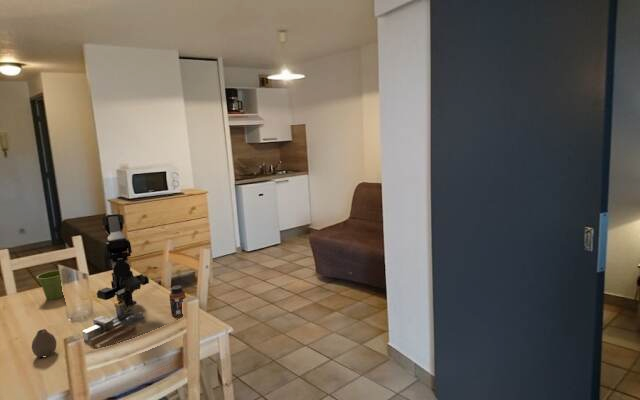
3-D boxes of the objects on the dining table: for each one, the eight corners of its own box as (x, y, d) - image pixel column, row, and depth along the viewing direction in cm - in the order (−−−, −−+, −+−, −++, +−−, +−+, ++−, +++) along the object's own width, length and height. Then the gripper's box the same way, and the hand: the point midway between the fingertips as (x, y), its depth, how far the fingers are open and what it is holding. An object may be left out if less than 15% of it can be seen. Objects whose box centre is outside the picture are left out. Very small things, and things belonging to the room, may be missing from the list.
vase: (41, 350, 142) (37, 326, 141) (62, 348, 143) (57, 325, 141) (29, 361, 135) (24, 336, 134) (51, 359, 136) (46, 334, 134)
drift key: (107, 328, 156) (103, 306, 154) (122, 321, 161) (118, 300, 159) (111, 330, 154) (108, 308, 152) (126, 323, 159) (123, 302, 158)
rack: (90, 345, 143) (89, 339, 143) (124, 329, 154) (123, 323, 154) (102, 350, 140) (101, 344, 139) (136, 333, 150) (135, 327, 150)
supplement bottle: (182, 317, 162) (179, 290, 160) (168, 316, 163) (165, 289, 161) (189, 310, 167) (186, 284, 166) (176, 310, 169) (173, 284, 167)
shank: (83, 339, 148) (82, 330, 147) (107, 328, 156) (105, 320, 155) (88, 341, 146) (86, 332, 146) (112, 330, 154) (110, 322, 153)
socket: (93, 331, 154) (91, 319, 153) (132, 314, 167) (130, 303, 166) (105, 336, 150) (103, 323, 149) (144, 318, 163) (142, 306, 162)
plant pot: (75, 294, 192) (71, 271, 191) (48, 304, 183) (44, 280, 181) (62, 290, 199) (59, 268, 197) (35, 299, 189) (31, 276, 187)
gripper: (111, 280, 146) (117, 321, 149) (155, 264, 162) (160, 301, 164) (93, 276, 152) (99, 315, 154) (137, 261, 167) (142, 297, 170)
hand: (127, 307), depth 161 cm, fingers closed
